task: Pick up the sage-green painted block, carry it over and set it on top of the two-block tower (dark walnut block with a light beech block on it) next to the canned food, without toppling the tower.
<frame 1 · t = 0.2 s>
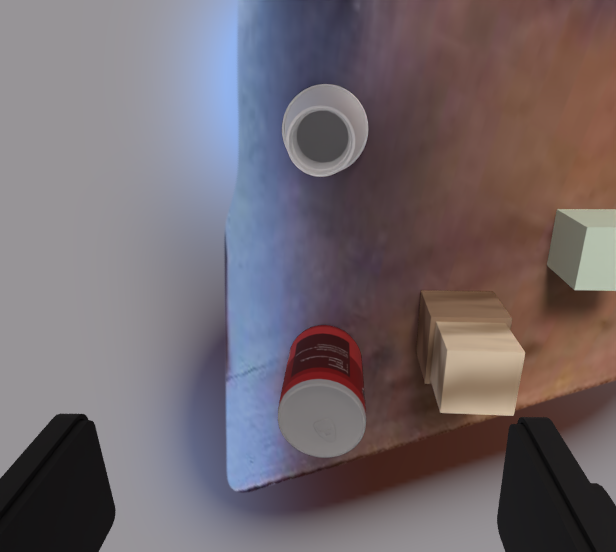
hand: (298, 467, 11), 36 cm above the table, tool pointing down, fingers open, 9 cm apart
walnut block: (453, 322, 49), on the table, touching beech block
canned food: (325, 354, 52), on the table
sage block: (581, 238, 45), on the table
vase: (325, 129, 43), on the table
beech block: (466, 352, 44), point 6 cm above the table, touching walnut block
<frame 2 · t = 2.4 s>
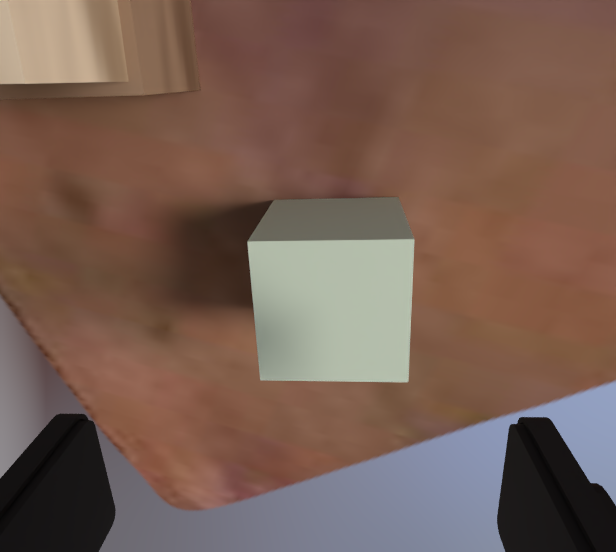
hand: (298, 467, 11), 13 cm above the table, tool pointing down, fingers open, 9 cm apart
sage block: (336, 256, 22), on the table
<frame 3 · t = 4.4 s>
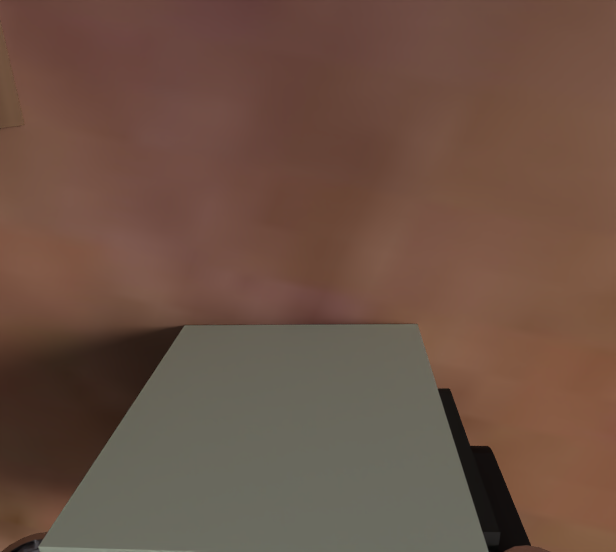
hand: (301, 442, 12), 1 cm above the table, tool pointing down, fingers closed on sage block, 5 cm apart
sage block: (303, 420, 12), on the table, touching gripper
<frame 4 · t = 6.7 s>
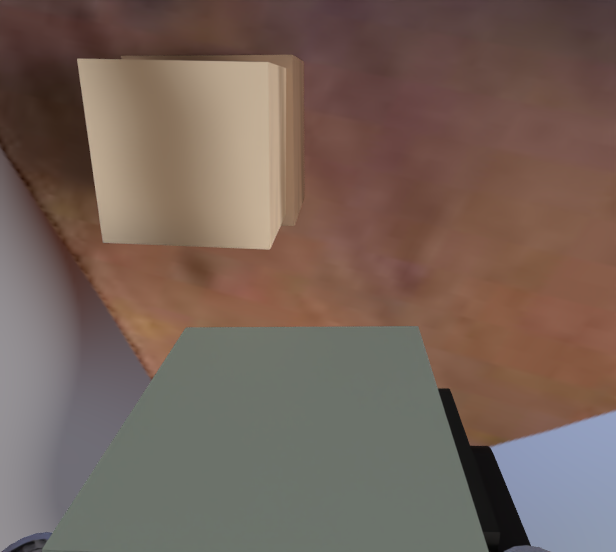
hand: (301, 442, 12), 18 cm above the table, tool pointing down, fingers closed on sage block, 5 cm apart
walnut block: (239, 132, 26), on the table, touching beech block
sage block: (304, 422, 12), point 17 cm above the table, touching gripper
beech block: (215, 143, 21), point 6 cm above the table, touching walnut block
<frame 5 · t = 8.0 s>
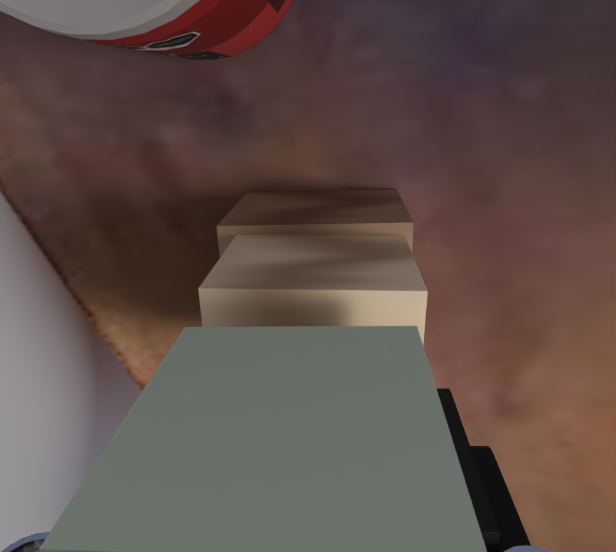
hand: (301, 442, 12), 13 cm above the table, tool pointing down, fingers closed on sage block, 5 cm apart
walnut block: (322, 260, 24), on the table, touching beech block
sage block: (303, 422, 12), point 12 cm above the table, touching gripper
beech block: (320, 310, 18), point 6 cm above the table, touching walnut block
when the fingers open (13 cm above the table, at t = 9.1 s): sage block drops 1 cm, resting on beech block.
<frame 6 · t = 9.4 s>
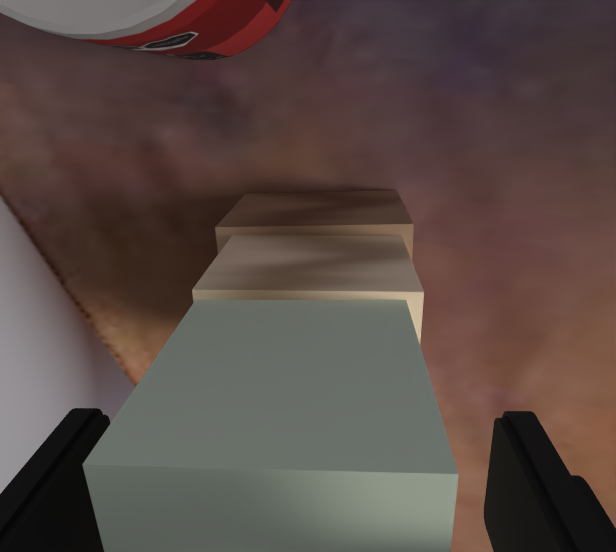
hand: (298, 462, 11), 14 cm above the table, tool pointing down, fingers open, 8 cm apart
walnut block: (322, 261, 24), on the table, touching beech block
sage block: (302, 389, 14), point 11 cm above the table, touching beech block
beech block: (316, 312, 18), point 6 cm above the table, touching sage block, walnut block
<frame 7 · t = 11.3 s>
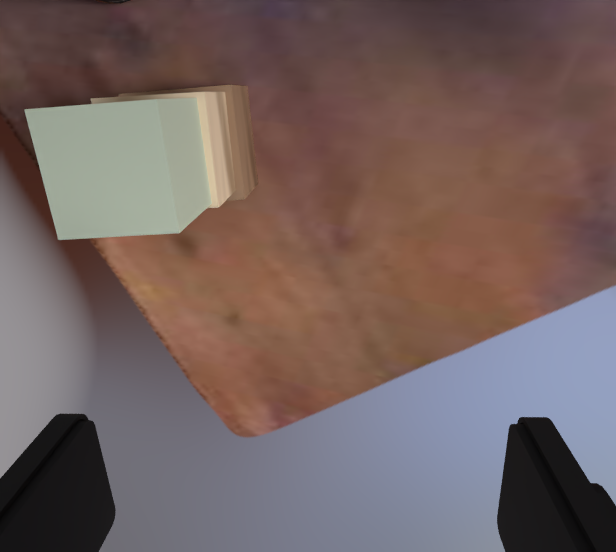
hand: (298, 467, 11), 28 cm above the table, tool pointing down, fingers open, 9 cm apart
walnut block: (206, 139, 36), on the table, touching beech block
sage block: (154, 156, 26), point 11 cm above the table, touching beech block
beech block: (183, 145, 31), point 6 cm above the table, touching sage block, walnut block
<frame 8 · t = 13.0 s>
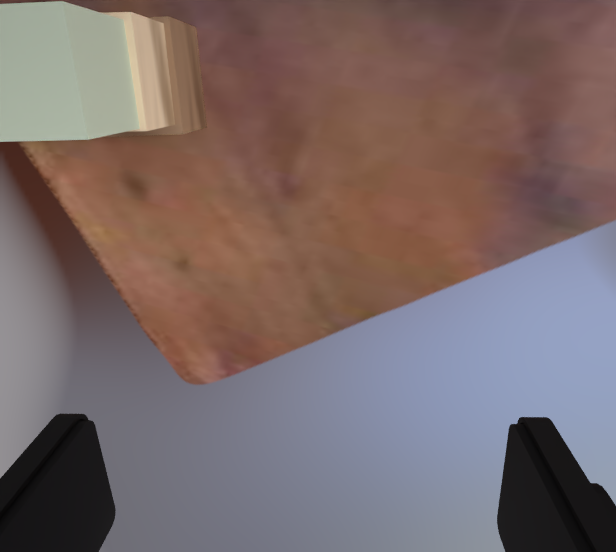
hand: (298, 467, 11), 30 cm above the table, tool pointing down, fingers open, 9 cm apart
walnut block: (156, 80, 37), on the table, touching beech block
sage block: (83, 77, 27), point 11 cm above the table, touching beech block
beech block: (124, 76, 31), point 6 cm above the table, touching sage block, walnut block
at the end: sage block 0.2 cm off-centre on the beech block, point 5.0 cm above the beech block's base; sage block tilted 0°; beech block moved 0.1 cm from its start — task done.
